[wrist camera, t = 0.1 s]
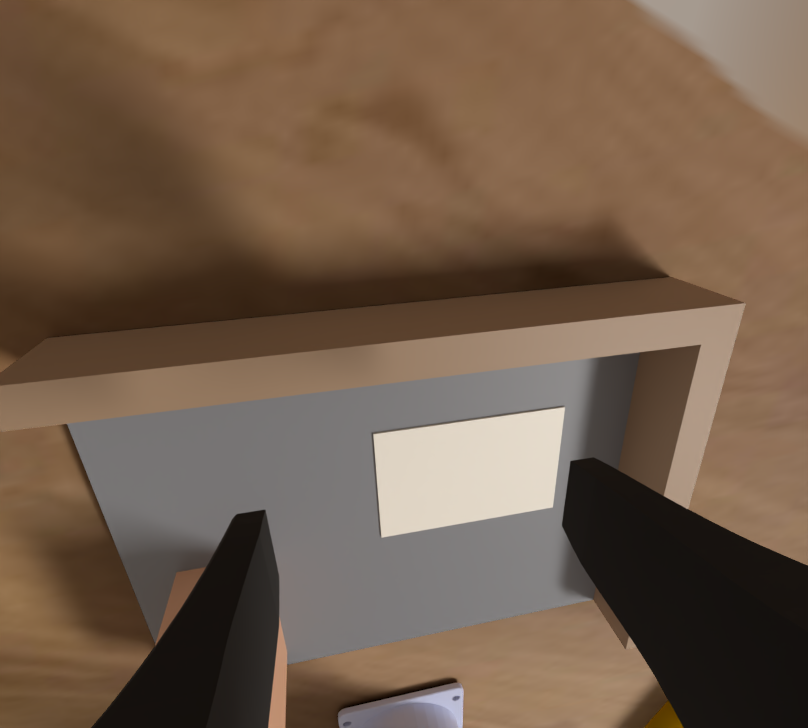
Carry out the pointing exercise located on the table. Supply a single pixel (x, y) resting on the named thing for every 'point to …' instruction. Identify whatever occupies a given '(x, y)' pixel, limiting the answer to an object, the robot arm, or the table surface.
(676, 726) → the element tile
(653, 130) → the table surface
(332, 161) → the table surface
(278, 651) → the block
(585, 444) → the arena
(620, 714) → the table surface
